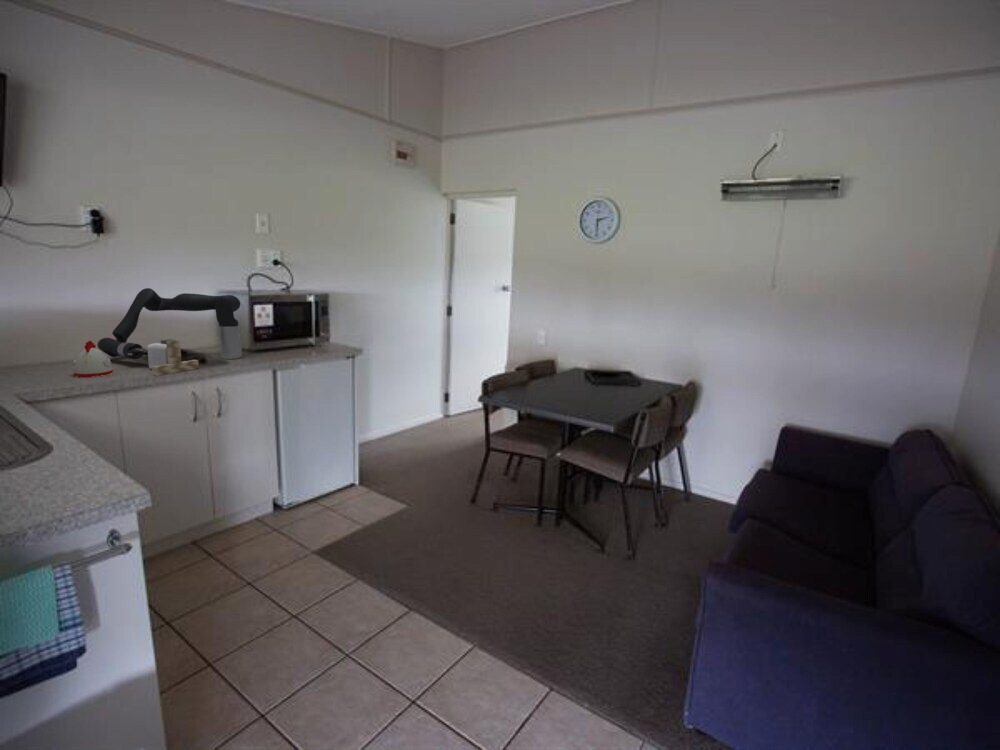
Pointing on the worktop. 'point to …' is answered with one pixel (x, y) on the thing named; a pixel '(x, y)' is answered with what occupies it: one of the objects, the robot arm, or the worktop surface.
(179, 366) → the retention stand
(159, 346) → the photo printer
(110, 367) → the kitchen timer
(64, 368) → the worktop surface
